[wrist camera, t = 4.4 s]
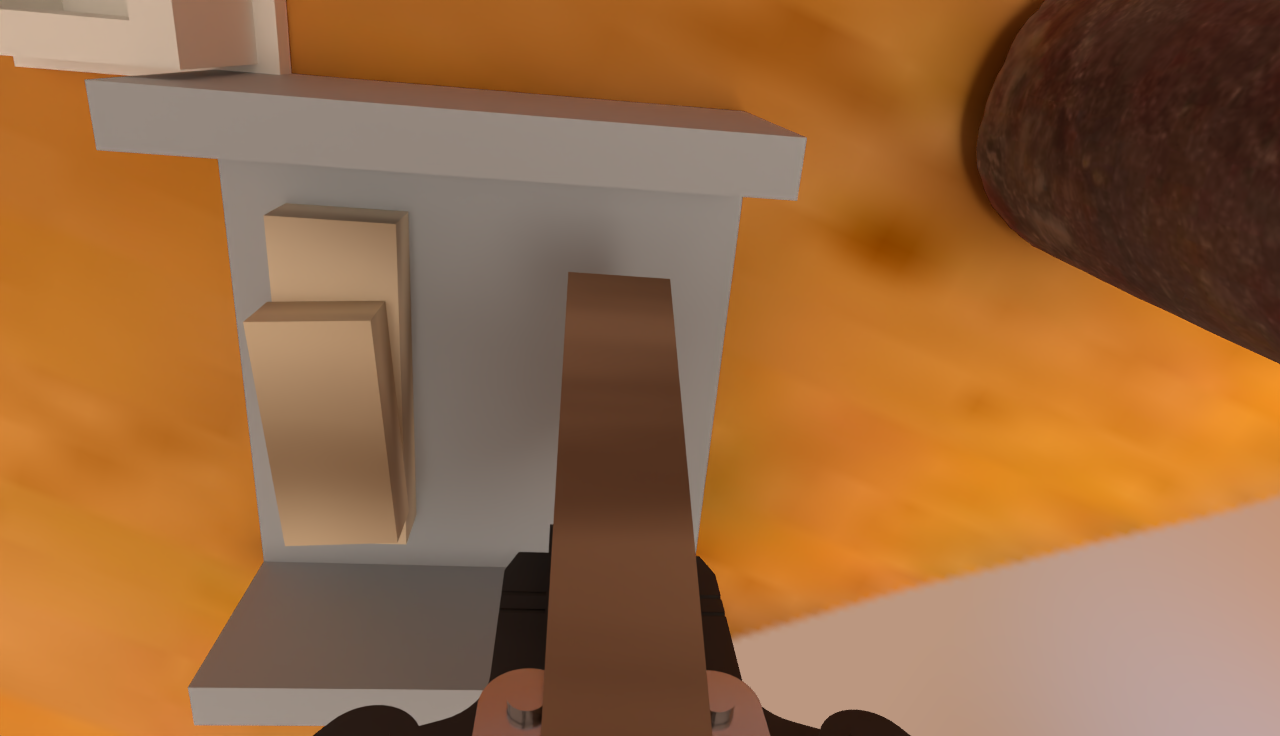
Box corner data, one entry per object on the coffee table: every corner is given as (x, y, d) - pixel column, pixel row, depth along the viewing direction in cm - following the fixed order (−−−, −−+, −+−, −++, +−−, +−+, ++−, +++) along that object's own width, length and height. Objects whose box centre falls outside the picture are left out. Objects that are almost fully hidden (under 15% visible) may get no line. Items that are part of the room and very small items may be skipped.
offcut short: (267, 301, 19) (242, 322, 18) (385, 300, 19) (370, 320, 18) (303, 513, 21) (285, 546, 20) (409, 510, 22) (397, 543, 20)
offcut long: (285, 203, 20) (263, 215, 18) (408, 211, 20) (395, 223, 19) (311, 511, 23) (294, 541, 22) (416, 514, 23) (406, 544, 22)
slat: (568, 271, 15) (516, 1126, 7) (670, 279, 16) (747, 1118, 7) (558, 440, 19) (517, 1148, 10) (642, 444, 19) (671, 1142, 10)
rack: (228, 68, 20) (84, 79, 14) (743, 111, 21) (807, 138, 15) (281, 569, 25) (194, 724, 19) (684, 579, 26) (713, 727, 21)
